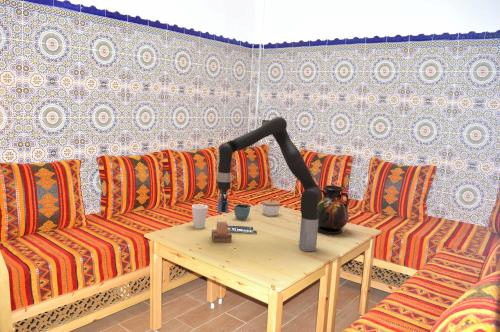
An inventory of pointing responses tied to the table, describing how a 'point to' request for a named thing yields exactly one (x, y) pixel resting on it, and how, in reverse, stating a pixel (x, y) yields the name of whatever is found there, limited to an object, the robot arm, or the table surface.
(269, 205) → the lidded bowl
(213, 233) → the plinth
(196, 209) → the foam cup
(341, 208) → the amphora vase
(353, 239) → the table surface
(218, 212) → the blue block
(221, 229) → the terracotta block
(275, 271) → the table surface
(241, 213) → the flower pot
